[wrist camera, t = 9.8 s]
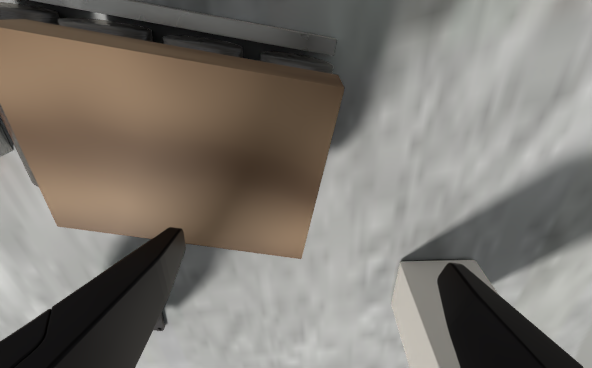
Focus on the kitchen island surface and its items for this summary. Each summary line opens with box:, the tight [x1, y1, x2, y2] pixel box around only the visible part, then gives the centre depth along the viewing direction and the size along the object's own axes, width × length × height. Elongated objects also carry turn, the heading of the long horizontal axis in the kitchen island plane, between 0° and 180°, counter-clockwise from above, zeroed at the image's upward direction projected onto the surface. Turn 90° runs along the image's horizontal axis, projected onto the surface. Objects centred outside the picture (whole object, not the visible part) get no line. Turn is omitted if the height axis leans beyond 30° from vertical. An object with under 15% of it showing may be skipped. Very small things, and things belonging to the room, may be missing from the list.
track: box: [0, 0, 337, 187], centre depth 16 cm, size 12×29×4 cm, turn 81°
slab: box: [0, 19, 344, 259], centre depth 14 cm, size 10×14×2 cm
